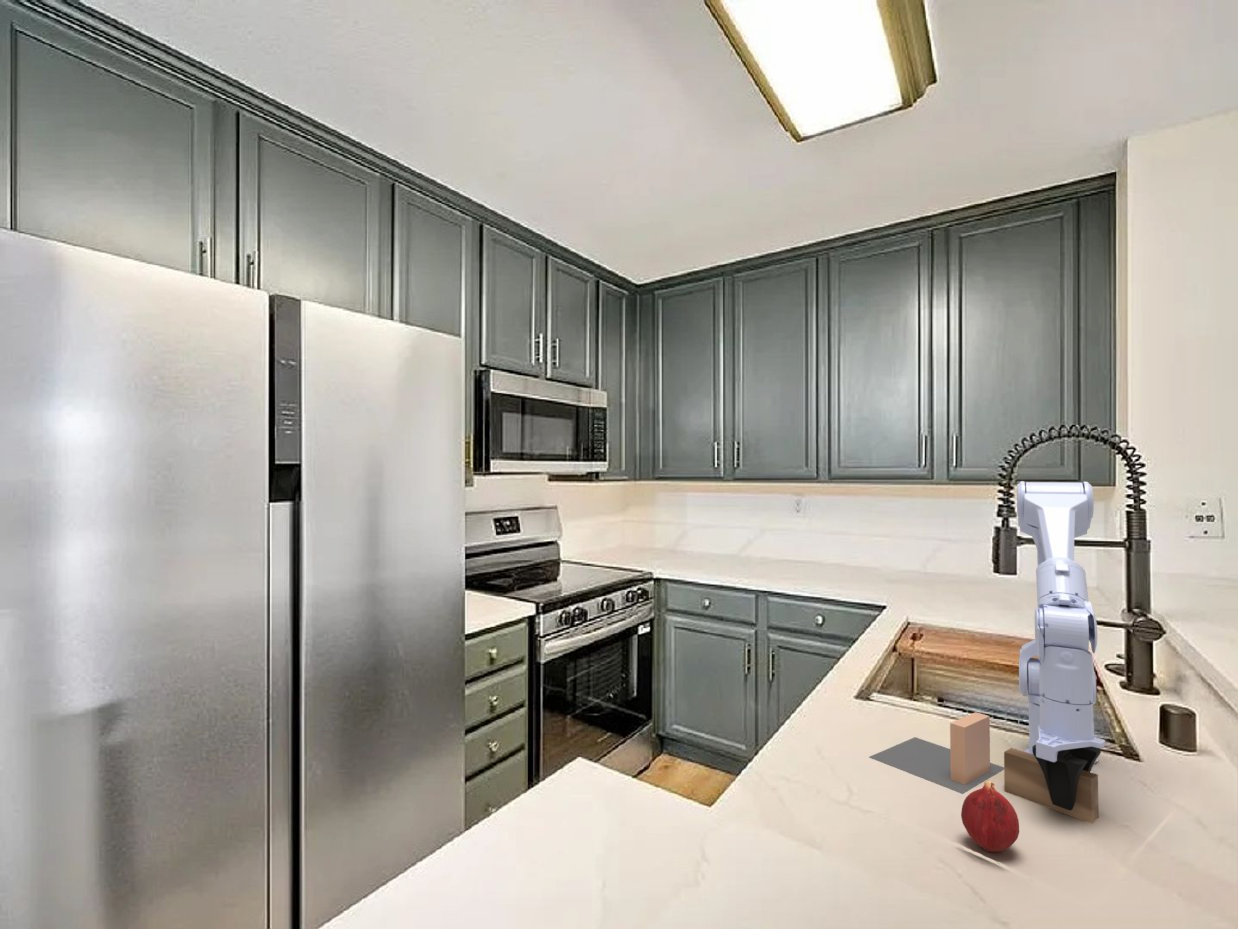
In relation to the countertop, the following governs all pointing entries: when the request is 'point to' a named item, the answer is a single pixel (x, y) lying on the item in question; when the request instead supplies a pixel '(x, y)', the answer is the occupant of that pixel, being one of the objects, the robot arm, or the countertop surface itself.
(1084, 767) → the robot arm
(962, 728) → the tile
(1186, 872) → the countertop surface
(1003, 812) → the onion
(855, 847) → the countertop surface
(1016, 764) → the wooden plank piece
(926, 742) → the mat
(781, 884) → the countertop surface
